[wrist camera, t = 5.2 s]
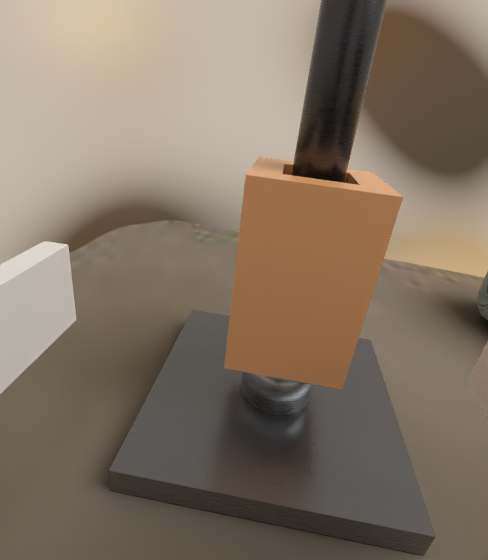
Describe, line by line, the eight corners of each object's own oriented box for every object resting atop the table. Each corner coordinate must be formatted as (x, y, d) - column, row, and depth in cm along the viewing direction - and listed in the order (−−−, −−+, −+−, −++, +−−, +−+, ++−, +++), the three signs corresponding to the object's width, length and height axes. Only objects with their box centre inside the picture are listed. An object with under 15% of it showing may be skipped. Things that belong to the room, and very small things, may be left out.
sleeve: (331, 324, 19) (372, 172, 16) (342, 389, 15) (403, 197, 11) (240, 309, 19) (259, 157, 16) (223, 368, 15) (245, 174, 11)
